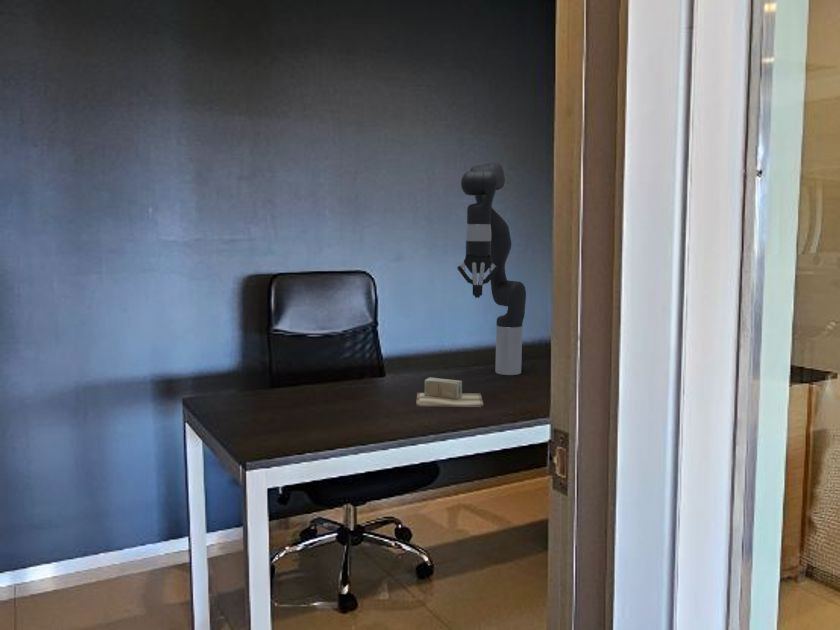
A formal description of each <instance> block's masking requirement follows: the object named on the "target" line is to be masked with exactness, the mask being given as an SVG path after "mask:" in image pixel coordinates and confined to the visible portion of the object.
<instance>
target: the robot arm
mask: <svg viewBox="0 0 840 630" xmlns="http://www.w3.org/2000/svg"><path fill="white" fill-rule="evenodd" d="M460 182H461V183H460V185H461V189H462V192H463V193H464V194H465V195H466V196H474V199H475V202H476V203H471V204H469V205H468V206H467V208H466V209H467V210H466V214H467V215H466V219H467V220H466V229H465V256H464V257H465V258H464V259H463V263H462V264H461V263H460V265H457V267H456V268H457V271H458V272H459V273H460V274H461V276H462V277H463V278H464V279H465V281H466V282H467V284H470V285H472V296H474V298H476V299H477V298H480V297H481V296H482V295H483V286H484V285H486V284H488V283H490V286H491V287H490V289H491V295H492V299H493V301H494V303H495V304H496V305H498V306H503V307H507V310H506V313H505V314H503V315H500V316H497V318H496V325H495V327H496V331H495V332H496V333H495V334H496V335H495V369H494V370H495V371H494V372H495V374H497V375H502V376H516V375H520V374H521V373H522V360H523V359H522V355H523V354H522V352H523V350H522V349H523V347H522V346H523V322H524V318H525V315H526V312H525V311H526V300H527V291H526V287H525V284H524V283H523V282H521V281H516V280H508V279H507V275H506V264H507V263H506V262H507V259H508V257H509V254H510V252H511V249H512V238H511V233H510V228H509V225H508V223H507V222H506V220H505V219H504V218H503V217H502V216H501V215H500V214H499V213H498V212H497V211H496V210H495V209H494V208H493V207H492V206H493V201H494V198H495V195H496V191H499V190H501V189H502V188H504V185H505V182H506V178H505V173H504V169H503V167H502V164H500V163H499V162H490V163H484V164H480V165H479V164H478V165H474V166H472V167H471V168H470V170H468V171H465V172H464V174H463V175H462V177H461V181H460ZM466 268H467V269H468V271H469V273H471V275H472V278H471V277H470V276H468V274H467V273H466ZM487 271H489V273H488V274H487V276H486V277H485V278H484V275H485V273H486V272H487ZM477 274H478V275H477Z"/></svg>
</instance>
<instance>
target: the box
mask: <svg viewBox="0 0 840 630" xmlns="http://www.w3.org/2000/svg"><path fill="white" fill-rule="evenodd" d="M423 393H424V395H427V396H435V397H443V398H452V399H458V398H460V397H461V396H462V393H463V380H458V379H457V380H456V379H447V378H438V377H427V378H426V379H424V392H423Z"/></svg>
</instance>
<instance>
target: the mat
mask: <svg viewBox="0 0 840 630" xmlns="http://www.w3.org/2000/svg"><path fill="white" fill-rule="evenodd" d="M424 393H425V392H417V393H416V402H415V403H416V404H415V405H416V406H415V407H439V408H440V407H444V408H447V407H448V408H449V407H450V408H453V407H454V408H457V407H458V408H484V401H483V397H482V394H481V393H480V392H479V393H476V392H475V393H473V392H472V393H470V392H469V393H468V392H465V393H463V392H462V396H461V397H460V398H458V399H452V398H443V397H435V396H427V395H424Z"/></svg>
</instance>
